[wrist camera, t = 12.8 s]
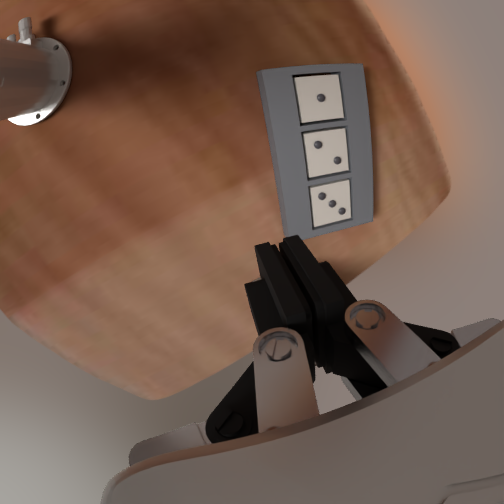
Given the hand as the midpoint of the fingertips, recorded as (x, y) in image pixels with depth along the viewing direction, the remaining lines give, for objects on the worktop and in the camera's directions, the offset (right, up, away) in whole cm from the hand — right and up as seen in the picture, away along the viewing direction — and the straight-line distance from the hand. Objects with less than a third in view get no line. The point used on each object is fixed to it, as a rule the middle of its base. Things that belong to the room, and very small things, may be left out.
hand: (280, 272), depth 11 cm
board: (+8, +15, +27) cm, 32 cm away
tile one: (+7, +21, +23) cm, 32 cm away
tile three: (+10, +9, +31) cm, 33 cm away
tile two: (+8, +15, +27) cm, 32 cm away
